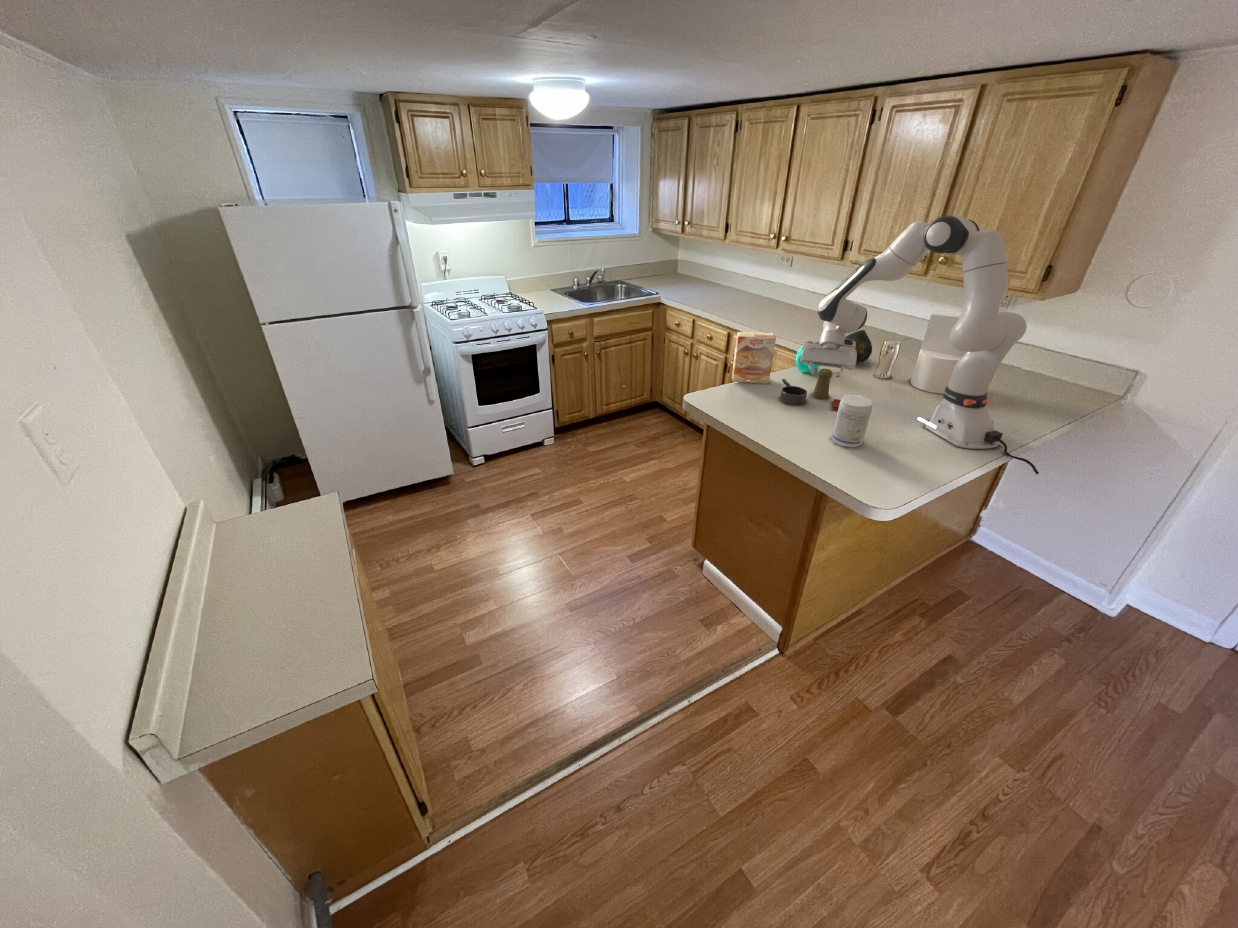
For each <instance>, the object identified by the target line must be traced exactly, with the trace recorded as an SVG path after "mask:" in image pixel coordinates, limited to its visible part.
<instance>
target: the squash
mask: <svg viewBox="0 0 1238 928" xmlns="http://www.w3.org/2000/svg"><path fill="white" fill-rule="evenodd" d="M845 337H846V338H848V339H850V340H853V341H855V342H856V347H855V349H856V351H857V360H856V365H857V364H859V363H864V362H866V361H868V360H869V358H870V356H871V355H872V352H873V343H872V341H871V340H870V337H869V336H868V333H867V332H866V330H865V329H861V330H860V329H859V330H856V331H853V332H851V333H849V334H848V335H847V336H846V335H845Z"/></svg>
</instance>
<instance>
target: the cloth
mask: <svg viewBox="0 0 1238 928" xmlns="http://www.w3.org/2000/svg"><path fill="white" fill-rule="evenodd" d="M840 401H841V399H838V398H833V403H832V410H831V411H835V412H838V409H839V405H840Z"/></svg>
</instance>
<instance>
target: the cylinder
mask: <svg viewBox="0 0 1238 928" xmlns="http://www.w3.org/2000/svg"><path fill="white" fill-rule="evenodd" d="M960 314H961V312H959V311H934V312H932V313H931V314H930V318H929V321H928V324H927V327H926V330H925V334H924V337H923V340H922V344H921V346H920V350H919V353H918V356H917V358H916V361H915V362H916V363H915V365H914V369H913V372H912V375H911V378H910V385H912V387H915V388H916V389H919V390H921V391H924V392H928V393H932V394H933V393H934V394H942V395H943V393H944V390H945V388H946V386H947V385H948V384H949V381H950V378H951V375H952V373H953V370H954V367H955V365H956V363H957V362H958V361H959V360H960V359H961V358H962V357H963V356H964V355H965V354H966V353H967V352H965V351H959V350H957V349H955V348H954V347H953V345H952V344H951V341H950V333H951V330H952V328H953V327H954V326H955V324H956V323H957V322H958V320H959V317H960Z"/></svg>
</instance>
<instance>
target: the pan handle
mask: <svg viewBox="0 0 1238 928" xmlns="http://www.w3.org/2000/svg"><path fill="white" fill-rule="evenodd" d="M781 382H782V383H783V385H784V386H785V387H786V386H792V385H791V384H790V383H789V382H788V381H787V379H786V378H782V380H781Z"/></svg>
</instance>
